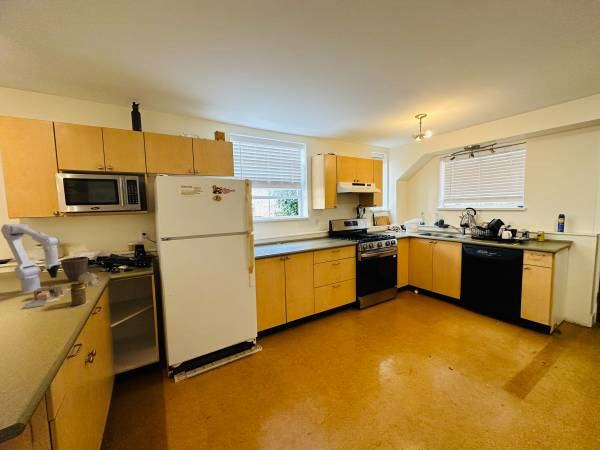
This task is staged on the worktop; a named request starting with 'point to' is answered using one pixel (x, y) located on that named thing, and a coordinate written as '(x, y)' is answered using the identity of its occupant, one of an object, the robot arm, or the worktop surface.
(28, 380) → the worktop surface
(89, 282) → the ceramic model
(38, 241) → the robot arm
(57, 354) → the worktop surface
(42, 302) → the slider frame
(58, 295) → the tunnel deck
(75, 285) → the condiment
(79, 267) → the plant pot
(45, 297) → the block
